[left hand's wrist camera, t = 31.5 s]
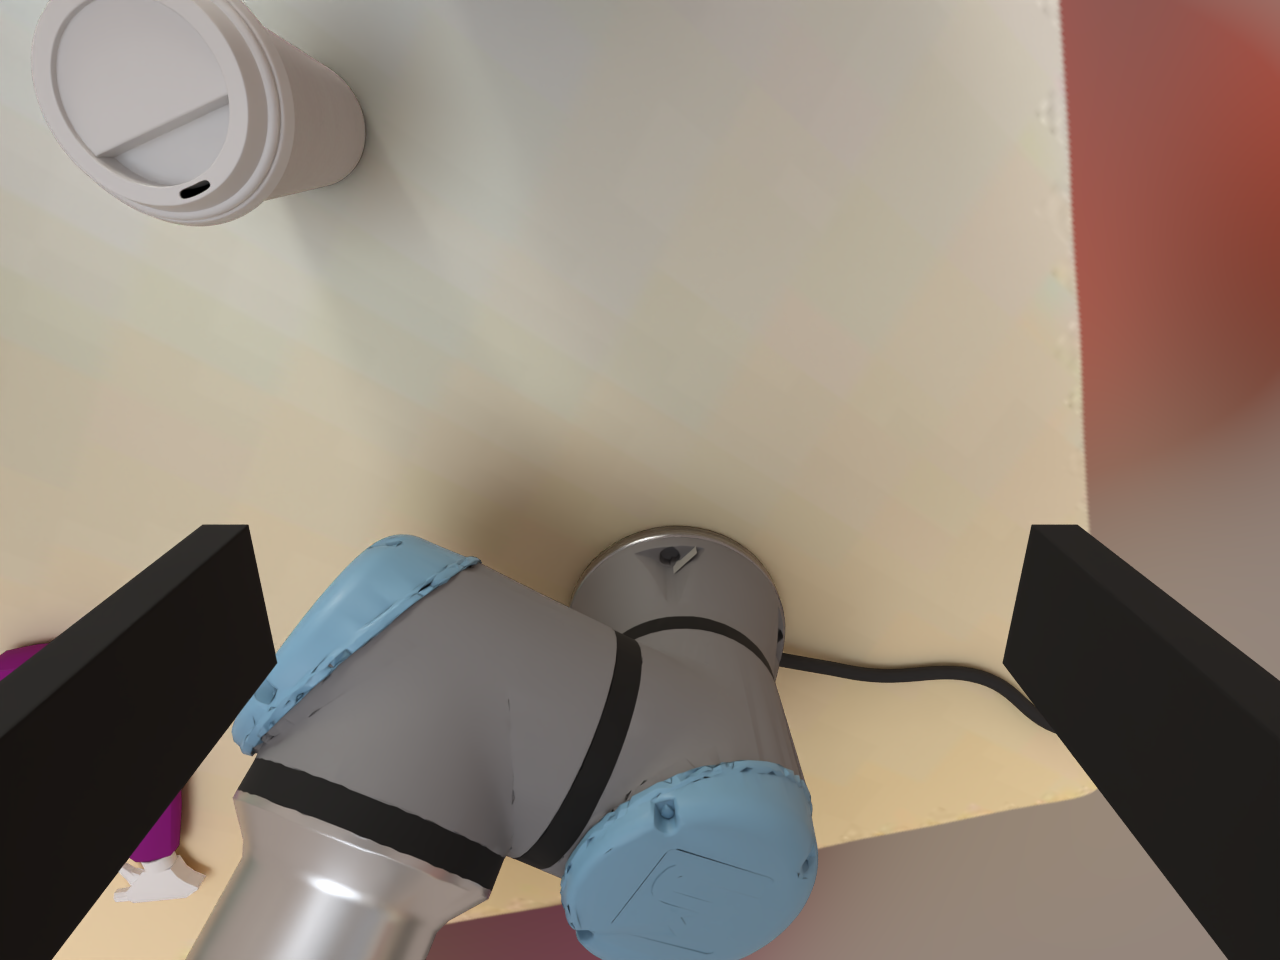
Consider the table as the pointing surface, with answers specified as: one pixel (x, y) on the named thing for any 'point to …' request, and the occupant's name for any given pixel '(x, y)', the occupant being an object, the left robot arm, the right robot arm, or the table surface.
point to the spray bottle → (156, 850)
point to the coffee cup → (190, 106)
